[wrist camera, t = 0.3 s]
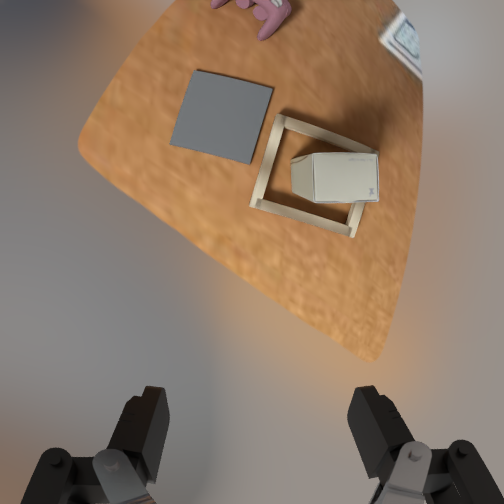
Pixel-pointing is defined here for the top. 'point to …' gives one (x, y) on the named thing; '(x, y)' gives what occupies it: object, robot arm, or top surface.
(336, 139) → the wooden rectangular frame
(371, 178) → the skincare box
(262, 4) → the video game controller
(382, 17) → the top surface
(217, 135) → the coaster
